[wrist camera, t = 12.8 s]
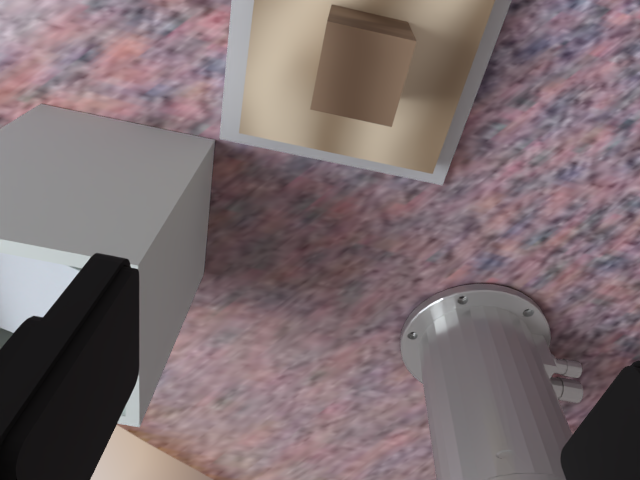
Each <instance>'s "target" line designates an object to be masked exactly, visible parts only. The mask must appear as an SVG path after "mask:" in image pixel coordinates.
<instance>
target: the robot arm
mask: <svg viewBox="0 0 640 480" xmlns="http://www.w3.org/2000/svg"><path fill="white" fill-rule="evenodd" d="M550 341H551V334H550V327H549V325H548V322H547V320H546V317H545V315H544V314H543V312H542V310H541V309H540V307H539V306H538V305H537V304H536V303H535V302H534V301H533V300H532V299H531V298H529V297H528V296H526V295H524V294H523V293H521V292H519V291H516V290H514V289H511V288H509V287H505V286H500V285H494V284H470V285H462V286H458V287H454V288H450V289H447V290H445V291H442V292H440V293H437V294H435V295H433V296H432V297H430V298H428V299H427V300H425V301H424V302H422V303H421V304H420V305H419V306H418V307H417V308H416V309H414V310H413V312H412V313H411V314H410V316H409V317H408V318H407V319H406V322H405V324H404V326H403V328H402V331H401V336H400V349H401V355H402V360H403V362H404V364H405V366H406V368H407V370H408V371H409V372H410V373H411V374H412V375H413V377H415V378H416V379H417V380H418V381H419V382H421V383H422V384H423V386H424V394H425V401H426V408H427V415H428V423H429V430H430V437H431V444H432V451H433V459H434V466H435V473H436V480H640V361H636V362H634V363H633V364H632V365H631V366H627V367H625V368H624V369H623V370H622V371H621V372H620V373H619V375H618V376H617V377H616V379H615V380H614V381H613V383H612V384H611V385H610V387H609V388H608V389H607V390H606V392H605V393H604V394H603V396H602V397H601V398H600V400H599V401H598V402H597V404H596V405H595V406H594V408H593V409H592V410H591V411H590V413H589V414H588V415H587V417H586V418H585V419H584V421H583V422H582V423H581V425H580V426H579V427H578V429H577V430H576V431H575V433H574V434H573V435H572V432H571V430H570V427H569V425H568V423H567V420H566V418H565V415H564V413H563V410H562V408H561V405H560V403H559V401H558V400H560V401H565V402H571V403H579V402H580V401H581V400H582V397H583V387H582V384H581V383H580V381H576V380H571V379H565V378H560V377H557V378H554V377H552V375H553V374H554V373H557V374H561V375H563V376H569V377H574V378H579V377H580V376H581V373H582V365H581V363H580V362H577V361H572V360H567V359H557V358H555V356H554V355H553V354H551V352H550V350H549V348H550ZM138 375H139V270H138V269H136V268H131V266H130V261H129V260H128V259H126V258H121V257H116V256H111V255H106V254H101V253H95V254H94V255H93V256H92V257H91V258H90V259H89V260H88V261H87V263H86V264H85V265H84V266H83V268H82V269H81V270H80V272H79V273H78V274H77V275H76V277H75V278H74V279H73V280H72V282H71V283H70V284H69V285H68V287H67V288H66V289H65V290H64V292H63V293H62V294H61V295H60V297H59V298H58V299H57V300H56V302H55V303H54V304H53V305H52V307H51V308H50V309H49V310H48V312H47V313H46V314H45V315H44V317H39V316H32V317H30V318H28V319H26V320H25V321H24V322H23V323H22V324H21V325H20V326H19V327H18V328H17V330H16V331H15V332H14V333H13V334H12V336H11V337H10V338H9V339H8V340H7V342H6V343H5V344H4V345H3V346H2V348H1V349H0V480H90V479H91V476H92V474H93V473H94V470H95V468H96V466H97V464H98V462H99V460H100V458H101V456H102V454H103V452H104V450H105V448H106V446H107V443H108V441H109V439H110V437H111V435H112V433H113V431H114V429H115V427H116V425H117V423H118V421H119V419H120V417H121V414H122V412H123V410H124V408H125V406H126V404H127V402H128V400H129V398H130V396H131V394H132V392H133V390H134V387H135V385H136V382H137V379H138Z"/></svg>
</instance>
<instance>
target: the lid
mask: <svg viewBox="0 0 640 480" xmlns="http://www.w3.org/2000/svg"><path fill="white" fill-rule="evenodd" d="M494 2H495V0H254V5H253V14H252V23H251V32H250V40H249V49H248V58H247V67H246V75H245V84H244V93H243V102H242V110H241V119H240V128H239V133H241V134H245V135H250V136H255V137H260V138H264V139H269V140H274V141H278V142H283V143H288V144H293V145H297V146H302V147H307V148H312V149H316V150H321V151H326V152H331V153H335V154H340V155H345V156H350V157H354V158H359V159H364V160H369V161H373V162H378V163H383V164H388V165H392V166H397V167H402V168H406V169H411V170H416V171H421V172H425V173H430V174H433V172H434V169H435V166H436V163H437V161H438V158H439V155H440V152H441V150H442V147H443V144H444V141H445V138H446V136H447V133H448V130H449V127H450V124H451V122H452V119H453V116H454V113H455V111H456V108H457V105H458V102H459V99H460V97H461V94H462V91H463V88H464V86H465V83H466V80H467V77H468V74H469V72H470V69H471V66H472V63H473V61H474V58H475V55H476V52H477V49H478V47H479V44H480V41H481V38H482V36H483V33H484V30H485V27H486V24H487V22H488V19H489V16H490V13H491V11H492V8H493V5H494Z"/></svg>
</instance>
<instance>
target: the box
mask: <svg viewBox="0 0 640 480" xmlns="http://www.w3.org/2000/svg"><path fill="white" fill-rule="evenodd" d="M214 149H215V140H213V139H209V138H204V137H199V136H194V135H189V134H185V133H180V132H175V131H170V130H165V129H160V128H156V127H151V126H146V125H141V124H136V123H132V122H127V121H122V120H117V119H112V118H107V117H103V116H98V115H93V114H88V113H83V112H78V111H74V110H69V109H64V108H59V107H54V106H50V105H45V104H40V105H38V106H36V107H35V108H33V109H31V110H30V111H28V112H27V113H25V114H23V115H22V116H20V117H19V118H17V119H15V120H14V121H12V122H10V123H9V124H7V125H6V126H4V127H2V128H1V129H0V253H4V254H10V255H15V256H20V257H26V258H31V259H36V260H41V261H47V262H52V263H57V264H62V265H68V266H73V267H78V268H83V266H84V265H85V264H86V263H87V261H88V260H89V259H90V258H91V257H92V256H93V255H94V254H95V253H101V254H106V255H111V256H116V257H121V258H126V259H128V260H129V261H130V266H131V268H136V269H138V270H139V375H138V379H137V382H136V385H135V387H134V390H133V392H132V394H131V396H130V398H129V400H128V402H127V404H126V406H125V408H124V410H123V412H122V414H121V417H120V419H119V421H118V424H124V425H129V426H135V427H140V425H141V423H142V420H143V418H144V415H145V413H146V411H147V408H148V406H149V404H150V401H151V399H152V396H153V394H154V392H155V389H156V387H157V384H158V382H159V380H160V377H161V375H162V373H163V370H164V368H165V365H166V363H167V361H168V358H169V356H170V353H171V351H172V349H173V346H174V344H175V342H176V339H177V337H178V334H179V332H180V330H181V327H182V325H183V322H184V320H185V318H186V315H187V313H188V311H189V308H190V306H191V303H192V301H193V299H194V296H195V294H196V292H197V289H198V287H199V284H200V282H201V280H202V277H203V275H204V267H205V255H206V244H207V232H208V220H209V208H210V196H211V184H212V173H213V161H214ZM12 334H13V333H12V332H10V331H7V330H5V329H2V328H0V349H1V348H2V346H3V345H4V344H5V343H6V342H7V340H8V339H9V338H10V337H11V336H12Z"/></svg>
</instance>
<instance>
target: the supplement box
mask: <svg viewBox="0 0 640 480" xmlns="http://www.w3.org/2000/svg"><path fill="white" fill-rule="evenodd" d="M81 269H82V268H78V267H73V266H68V265H62V264H57V263H52V262H47V261H41V260H36V259H31V258H26V257H20V256H15V255H10V254H4V253H0V328H2V329H5V330H7V331H10V332H12V333H14V332H15V331H16V330H17V328H18V327H19V326H20V325H21V324H22V323H23V322H24V321H25V320H26V319H28V318H30V317H32V316H39V317H44V315H45V314H46V313H47V312H48V310H49V309H50V308H51V307H52V305H53V304H54V303H55V302H56V300H57V299H58V298H59V297H60V295H61V294H62V293H63V292H64V290H65V289H66V288H67V287H68V285H69V284H70V283H71V282H72V280H73V279H74V278H75V277H76V275H77V274H78V273H79V272H80V270H81Z"/></svg>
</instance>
